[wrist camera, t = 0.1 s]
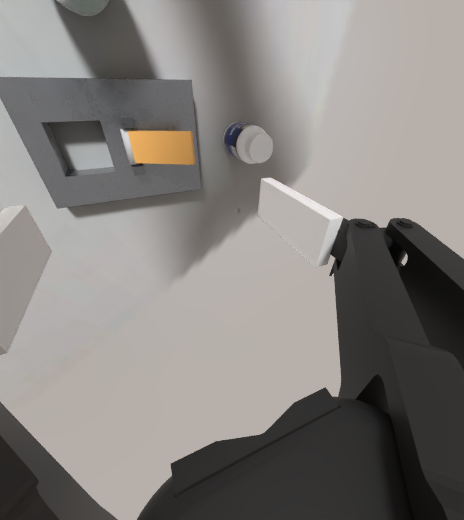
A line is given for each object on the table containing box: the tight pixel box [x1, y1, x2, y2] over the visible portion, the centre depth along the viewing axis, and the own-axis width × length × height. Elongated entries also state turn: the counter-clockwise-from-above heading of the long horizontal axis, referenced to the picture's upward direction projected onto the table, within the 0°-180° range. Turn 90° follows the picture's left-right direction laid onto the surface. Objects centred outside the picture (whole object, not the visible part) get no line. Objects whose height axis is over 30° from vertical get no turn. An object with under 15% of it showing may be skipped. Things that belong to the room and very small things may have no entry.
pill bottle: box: [223, 122, 273, 164], centre depth 36 cm, size 5×5×10 cm
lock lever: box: [120, 129, 195, 165], centre depth 31 cm, size 4×10×1 cm, turn 90°
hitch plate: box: [0, 77, 201, 209], centre depth 32 cm, size 15×22×5 cm
